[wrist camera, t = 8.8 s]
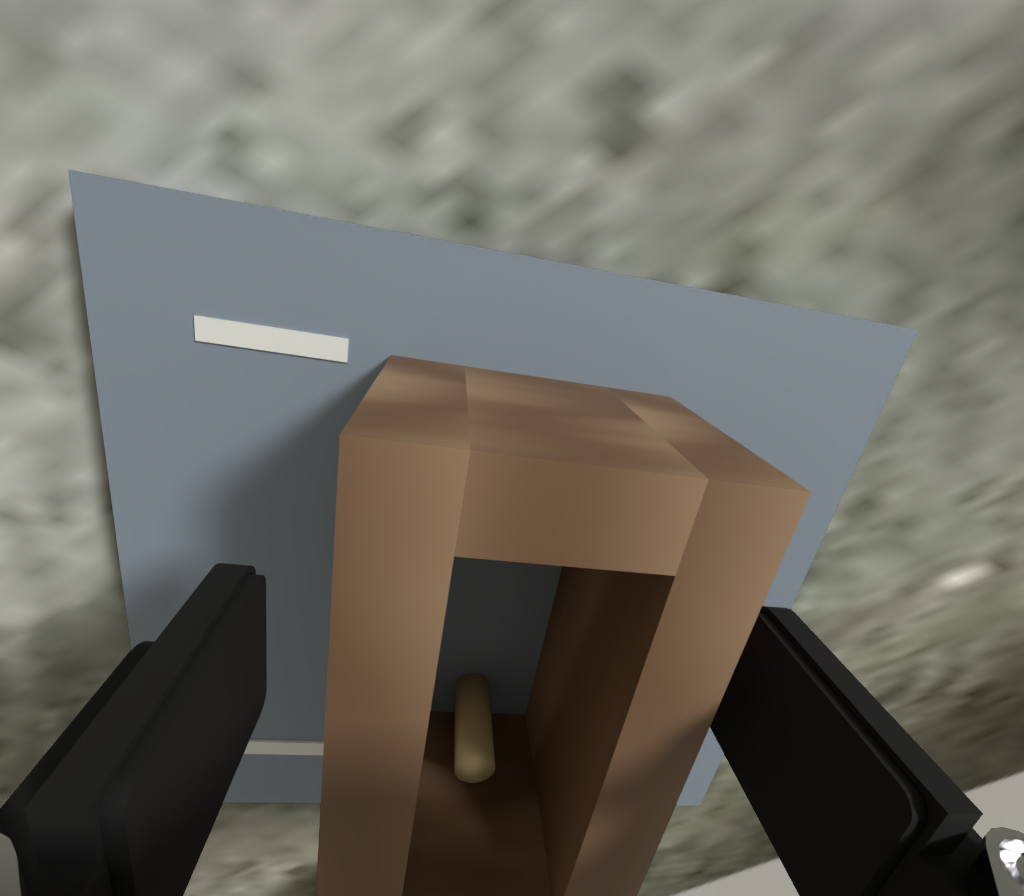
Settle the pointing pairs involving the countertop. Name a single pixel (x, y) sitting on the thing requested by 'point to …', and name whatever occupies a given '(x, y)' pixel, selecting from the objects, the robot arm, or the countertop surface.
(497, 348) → the board
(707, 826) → the countertop surface
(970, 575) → the countertop surface
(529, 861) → the frame
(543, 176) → the countertop surface
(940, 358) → the countertop surface
